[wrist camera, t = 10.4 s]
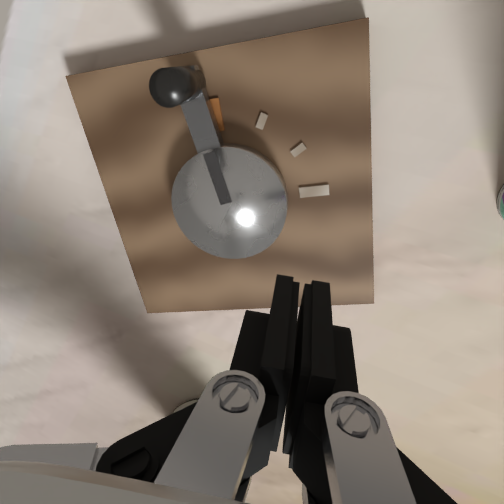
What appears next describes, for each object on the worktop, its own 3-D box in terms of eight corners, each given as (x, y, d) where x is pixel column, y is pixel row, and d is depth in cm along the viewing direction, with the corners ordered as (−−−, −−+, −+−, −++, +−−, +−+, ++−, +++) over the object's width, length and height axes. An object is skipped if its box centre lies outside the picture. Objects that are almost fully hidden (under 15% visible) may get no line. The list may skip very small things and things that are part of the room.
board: (372, 294, 38) (374, 304, 36) (152, 305, 43) (146, 314, 41) (366, 19, 27) (369, 17, 26) (75, 75, 32) (63, 76, 31)
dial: (300, 238, 34) (297, 270, 29) (200, 259, 37) (182, 291, 32) (247, 44, 27) (232, 41, 22) (130, 86, 30) (93, 92, 25)
